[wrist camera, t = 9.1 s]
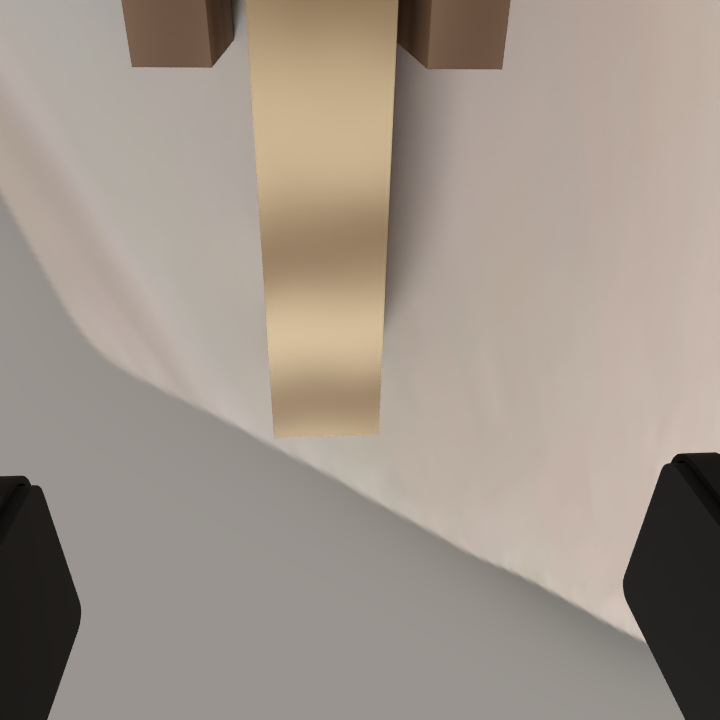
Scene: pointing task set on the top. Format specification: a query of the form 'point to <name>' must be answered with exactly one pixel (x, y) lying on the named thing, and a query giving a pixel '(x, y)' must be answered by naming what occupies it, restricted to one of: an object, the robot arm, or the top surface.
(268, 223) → the rail
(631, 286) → the top surface
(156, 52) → the headboard
